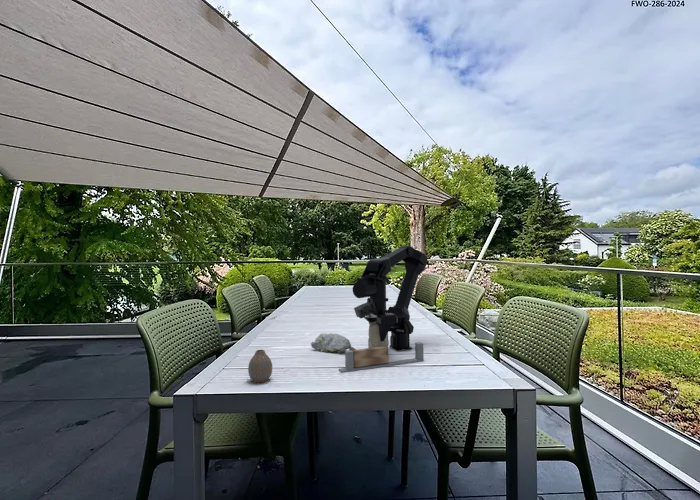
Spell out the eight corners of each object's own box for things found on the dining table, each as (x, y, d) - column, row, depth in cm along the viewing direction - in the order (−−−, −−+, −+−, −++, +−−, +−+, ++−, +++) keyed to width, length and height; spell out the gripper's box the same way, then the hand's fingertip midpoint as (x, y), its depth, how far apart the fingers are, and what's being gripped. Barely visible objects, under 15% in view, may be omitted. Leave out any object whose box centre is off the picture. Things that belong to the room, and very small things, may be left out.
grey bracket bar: (420, 359, 128) (419, 341, 128) (423, 361, 125) (423, 343, 125) (338, 370, 117) (338, 351, 117) (341, 372, 115) (341, 353, 115)
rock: (356, 350, 139) (356, 332, 139) (348, 356, 133) (347, 337, 133) (321, 346, 146) (320, 329, 146) (311, 351, 140) (310, 333, 140)
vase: (250, 376, 113) (250, 347, 112) (273, 375, 113) (273, 347, 113) (246, 385, 106) (245, 354, 106) (270, 384, 106) (270, 353, 106)
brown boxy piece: (379, 357, 127) (379, 342, 127) (388, 362, 121) (388, 347, 121) (347, 361, 123) (346, 346, 123) (354, 367, 117) (354, 351, 117)
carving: (392, 356, 131) (392, 322, 131) (375, 360, 127) (375, 325, 127) (381, 352, 137) (380, 319, 136) (364, 356, 132) (364, 322, 132)
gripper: (347, 293, 138) (347, 335, 138) (367, 300, 120) (368, 348, 120) (374, 291, 141) (375, 332, 142) (398, 298, 124) (398, 344, 124)
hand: (378, 339), depth 132 cm, fingers closed on carving, 6 cm apart
